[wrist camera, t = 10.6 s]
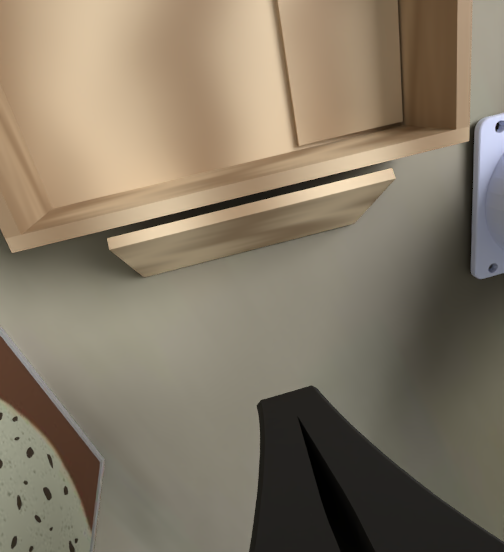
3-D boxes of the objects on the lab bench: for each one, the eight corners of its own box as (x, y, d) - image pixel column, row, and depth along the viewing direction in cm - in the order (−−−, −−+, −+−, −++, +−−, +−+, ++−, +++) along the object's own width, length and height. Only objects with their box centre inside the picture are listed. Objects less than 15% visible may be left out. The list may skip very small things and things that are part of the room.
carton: (394, -253, 13) (491, -412, 9) (411, 207, 19) (472, 232, 15) (-122, -173, 12) (-276, -319, 8) (78, 292, 18) (51, 344, 14)
